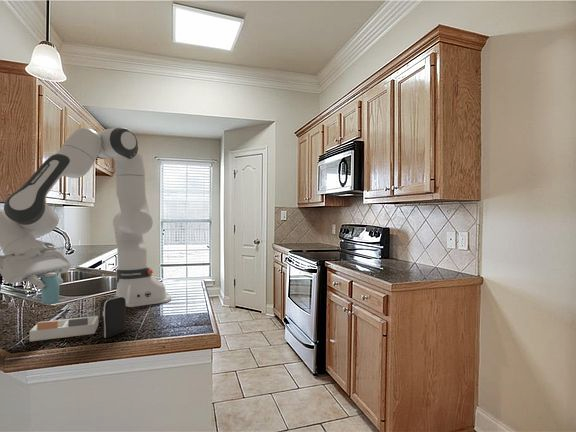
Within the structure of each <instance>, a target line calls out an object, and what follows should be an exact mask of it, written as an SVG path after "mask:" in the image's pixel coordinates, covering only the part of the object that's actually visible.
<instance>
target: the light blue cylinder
mask: <svg viewBox="0 0 576 432" xmlns="http://www.w3.org/2000/svg"><path fill="white" fill-rule="evenodd" d="M41 281H45V282H46V283H47V287H46V288H44V289H41V305H53V304H58V303H60V285H59V276H57V273H45V274H44V277H42V278H41Z"/></svg>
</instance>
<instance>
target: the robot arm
mask: <svg viewBox="0 0 576 432" xmlns="http://www.w3.org/2000/svg"><path fill="white" fill-rule="evenodd" d="M138 143H139V142H138V138H137V137H136V135H135V133H134V132H133V131H132V130H131V129H129V128H126V127H116V128H114V127H113V128H107V129H104V130H101V131H95V130H93V129H91V128H88V127H79V128H77V129H76V130H75V131H73V132H72V133H71V134H70V136H69V137H68V138H67V139H65V141H64V143H63V144H62V145H61V147H60V148H59V149H58V151H57V152H56V153H55V154H52V155H50V156H49V157H48V158H47V159H46V160H45V161H44V162H43V163H42V164H41V165H40V166H39V167H38V168H37V170H36V171H35V172H34V173H33V174H32V175H31V177H30V178H29V179H28V180H27V181H26V182H25V183H24V184H23V185H22V186H21V187H20V188H19V189H17V190H16V191H14V192H13V193H12V194H10V195H9V196H8V197H7V199H6V200H5V202H4V205H3V208H2V209H1V208H0V248H1V250H2V253H3V254H4V255H0V275H1V277H2V279H3V280H4V281H5V282H6V283H7V284H11V285H12V284H15V283H21V282H25V281H27V282H28V283H30V284H31V285H33V286H36V287H37V288H38V290H42V289H44V288H46V287H47V283H46V282H45V281H42V277H44V274H45V273H57V276H59V286H60V285H62V284H63V283H64V279H63V278H62V277H61V276H62V275H61V274H65V273H67V272H68V271H69V269H70V268H71V267H72V263H71V261H70V260H69V259H68V257H66V256H65V254H64V253H63V252H62V251H60V250H58V249H57V248H58V245H56V244H55V243H53V242H46V241H43V240H40V239H38V238H40V237H43V236H45V235H47V234H48V233H50V232H53V231H54V230H55V229H56V227H57V226H58V224H59V220H60V219H59V216H58V213H56V211H55V210H54V209H53V208H52V207H51V206H50V205H49V204H48V203H47V195H48V194H49V192H50V191H51V190H52V189H53V187H54V186H55V185H56V183H58V181H59V180H60V179H61V178H62V177H66V178H69V179H70V178H71V179H77V178H83V177H84V176H85V175H87V173H89V171H90V170H91V168H92V167H93V165H94V163H95V161H96V159H101V160H102V159H103V160H104V159H113V161H114V164H115V189H116V190H115V191H116V193H115V194H116V198H117V200H118V204H119V208H120V211H119V212H117V213H116V214H115V215H114V217H113V219H112V226H113V228H114V229H113V230H114V236H115V242H116V243H115V244H116V248H117V249H116V250H117V269H116V273H115V275H116V276H115V278H116V279H115V280H116V284H117V285H116V290H115V296H118V297H124V298H125V302H126V308H134V307H135V308H136V307H143V306H148V305H149V306H150V305H156V304H163V303H168V302H170V301H171V300H172V296H171V294H170V293H168V292H167V291H166V286H165V285H164V283H163V282H161V281H160V280H159V279H157V278H155V277H154V276H152V274H153V273H154V271H153V269H152V268H150V267H147V247H146V245H145V241H144V240H145V239H144V236H143V235H145V234H147V233H149V231H151V230H152V227H153V217H152V216H151V214H150V210H149V204H148V201H147V200H148V199H147V195H146V175H145V166H144V160H143V156H142V154H141V153H140V152H138V151H139V145H138Z"/></svg>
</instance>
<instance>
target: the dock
mask: <svg viewBox="0 0 576 432" xmlns="http://www.w3.org/2000/svg"><path fill="white" fill-rule="evenodd" d="M98 327H99V315H94V316H93V315H92V316H86V317H85V316H84V317H76V318H75V317H74V318H66V319H56V320H55V319H54V320H47V321H38V322H37V323H36V324H35V325H34V326H33V327H32V328H31V329H30V330H29V342H35V341H36V342H37V341H45V340H51V339H53V340H54V339H55V340H56V339H61V338H71V337H78V336H79V337H80V336H86V335H94V334H95V333H96V331H97V329H98Z"/></svg>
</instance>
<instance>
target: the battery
mask: <svg viewBox="0 0 576 432" xmlns="http://www.w3.org/2000/svg"><path fill="white" fill-rule="evenodd" d="M126 308H127V307H126V302H125V298H124V297H118V296H116V295H115V296H112V297H111V296H110V297H107V298H104V299H102V300H101V301H100V304H99V317H100V318H102V326H103V327H102V328H103V329H102V333H101V336H102V338H105V339H108V338H111V337H115V336H118V335H120V334H123V333H126V319H127V318H126V313H127V311H126Z"/></svg>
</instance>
